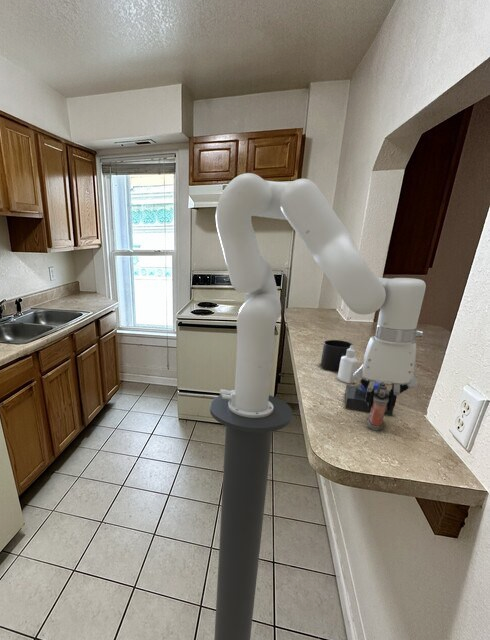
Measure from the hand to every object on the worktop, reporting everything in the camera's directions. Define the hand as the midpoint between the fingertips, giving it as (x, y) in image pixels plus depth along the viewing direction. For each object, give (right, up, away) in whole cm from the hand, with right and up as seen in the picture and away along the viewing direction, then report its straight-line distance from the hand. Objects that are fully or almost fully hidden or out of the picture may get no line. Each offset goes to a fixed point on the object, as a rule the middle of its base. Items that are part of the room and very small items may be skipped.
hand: (378, 405), depth 87 cm
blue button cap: (+4, +3, +11) cm, 12 cm away
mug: (+8, +9, +39) cm, 41 cm away
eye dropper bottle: (+7, +5, +29) cm, 30 cm away
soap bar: (+20, +6, +31) cm, 37 cm away
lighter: (0, -5, +2) cm, 5 cm away
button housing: (+4, -1, +12) cm, 13 cm away
